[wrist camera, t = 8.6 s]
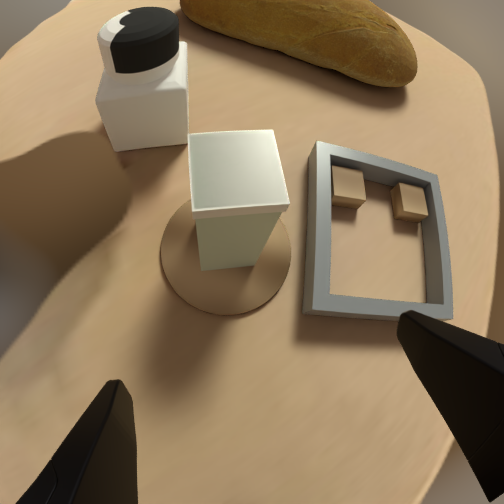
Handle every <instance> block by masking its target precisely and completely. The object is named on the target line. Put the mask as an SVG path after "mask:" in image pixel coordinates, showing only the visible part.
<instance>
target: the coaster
mask: <svg viewBox="0 0 504 504" xmlns="http://www.w3.org/2000/svg"><path fill="white" fill-rule="evenodd" d="M161 260H162V265H163V269H164V272H165V274H166V277H167V279H168V281H169V282H170V284H171V286H172V287H173V289H174V290H175V291H176V292H177V293H178V295H179V296H180V297H182V298H183V299H184V300H185V301H186V302H188V303H189V304H191V305H192V306H194V307H196V308H198V309H200V310H202V311H205V312H208V313H212V314H217V315H236V314H241V313H245V312H248V311H251V310H253V309H255V308H257V307H259V306H261V305H262V304H264V303H265V302H267V301H268V300H269V299H270V298H271V297H272V296H273V295H274V294H275V293H276V292H277V291H278V290H279V288H280V287H281V285H282V284H283V282H284V280H285V278H286V276H287V273H288V270H289V266H290V260H291V246H290V240H289V236H288V233H287V231H286V228H285V226H284V224H283V223H282V221H281V219H280V218H279V219H278V221H277V223H276V225H275V227H274V229H273V231H272V232H271V234H270V236H269V238H268V240H267V242H266V244H265V246H264V248H263V250H262V252H261V254H260V256H259V258H258V260H257V262H256V263H255V265H254V266H245V267H236V268H226V269H217V270H207V271H201V266H200V257H199V248H198V239H197V230H196V220H195V219H193V214H192V202H191V200H189V201H188V202H186V203H185V204H184V205H182V206H181V207H180V208H179V209H178V210H177V211H176V212H175V214H174V215H173V216H172V217H171V219H170V221H169V222H168V224H167V226H166V229H165V231H164V234H163V238H162V243H161Z"/></svg>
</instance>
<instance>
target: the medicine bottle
mask: <svg viewBox="0 0 504 504" xmlns="http://www.w3.org/2000/svg"><path fill="white" fill-rule="evenodd" d="M97 39H98V43H99V48H100V51H101V55H102V59H103V63H104V67H105V68H104V71H103V74H102V78H101V81H100V84H99V88H98V92H97V95H96V99H95V102H96V105H97V108H98V111H99V113H100V116H101V119H102V121H103V124H104V126H105V129H106V132H107V134H108V137H109V139H110V142H111V144H112V147H113V149H114V151H116V152H119V151H126V150H133V149H141V148H150V147H159V146H168V145H179V144H187V143H188V134H189V106H188V64H187V43H186V42H184V41H182V42H179V19H178V17H177V16H176V15H175V14H174V13H173V12H172V11H170V10H168V9H165V8H160V7H141V8H136V9H132V10H129V11H126V12H123V13H121V14H119V15H117V16H115V17H113V18H112V19H110V20H109V21H107V22H106V23H105V24H104V25H103V26H102V28H101V29H100V31H99V33H98V36H97Z"/></svg>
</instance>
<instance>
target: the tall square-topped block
mask: <svg viewBox="0 0 504 504" xmlns="http://www.w3.org/2000/svg"><path fill="white" fill-rule="evenodd" d="M188 154H189V172H190V188H191V202H192V214H193V219H195V220H196V230H197V239H198V248H199V257H200V266H201V271H207V270H217V269H226V268H236V267H245V266H254V265H255V263H256V262H257V260H258V258H259V256H260V254H261V252H262V250H263V248H264V246H265V244H266V242H267V240H268V238H269V236H270V234H271V232H272V231H273V229H274V227H275V225H276V223H277V221H278V219H279V217H280V215H281V213H282V212H286V210H287V208H288V206H289V204H290V202H289V198H288V193H287V189H286V184H285V180H284V175H283V171H282V166H281V162H280V158H279V153H278V149H277V145H276V141H275V137H274V133H273V130H243V131H222V132H206V133H193V134H188Z"/></svg>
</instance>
